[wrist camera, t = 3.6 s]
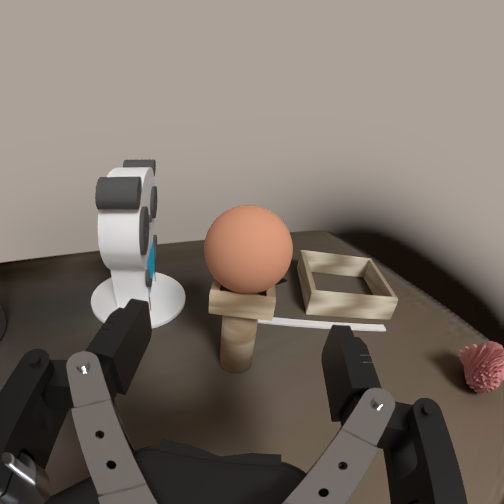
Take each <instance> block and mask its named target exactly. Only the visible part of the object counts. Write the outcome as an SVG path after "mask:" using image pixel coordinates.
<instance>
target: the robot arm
mask: <svg viewBox="0 0 504 504" xmlns="http://www.w3.org/2000/svg"><path fill="white" fill-rule="evenodd" d="M5 328H6V318H5V315H4V312H3V310H2V307H1V304H0V339H1V338H2V336H3V334H4V332H5ZM151 333H152V327H151V319H150V310H149V303H148V301H143V300H138V299H133V298H132V299H130V300H129V302H128V303H127V305H126V306H125V308H120V307H119V308H118V309H116V310H115V311H113V312H112V313H111V314H110V315H109V316H108V318H107V319H106V321H105V323H104V324H103V325H102V327H101V329H100V330H99V331H98V333H97V334H96V336H95V337H94V339H93V340H92V342H91V343H90V345H89V346H88V348H87V349H86V351H82V352H78V353H75V354H74V355H72V356H71V357H70V358H69V359H68V360H51V359H50V357H49V355H48V353H47V352H46V351H44V350H41V349H34V350H31V351H29V352H27V353H26V354H25V355H24V356H23V358H22V359H21V361H20V362H19V364H18V365H17V367H16V368H15V370H14V371H13V373H12V374H11V376H10V378H9V379H8V381H7V382H6V384H5V386H4V387H3V389H2V391H1V392H0V502H1V503H2V504H345V503H346V501H347V500H348V498H349V497H350V495H351V494H352V492H353V491H354V489H355V488H356V486H357V484H358V483H359V481H360V480H361V478H362V476H363V475H364V473H365V471H366V470H367V468H368V466H369V464H370V463H371V461H372V459H373V457H374V456H375V454H376V452H377V449H378V448H381V449H383V451H384V457H385V463H386V470H387V477H388V484H389V492H390V500H391V504H467V499H466V494H465V489H464V485H463V481H462V477H461V473H460V469H459V465H458V462H457V458H456V455H455V451H454V448H453V445H452V441H451V438H450V435H449V432H448V429H447V426H446V423H445V420H444V417H443V414H442V412H441V409H440V407H439V405H438V404H437V403H436V402H435V401H433V400H431V399H429V398H420V399H418V400H417V401H416V402H415V403H414V404H413V405H409V404H404V403H399V402H396V401H395V400H394V398H393V396H392V395H391V394H390V393H389V392H388V391H386V390H384V389H382V388H381V385H380V382H379V379H378V376H377V374H376V371H375V368H374V365H373V363H372V359H371V357H370V356H369V351H368V348H367V346H366V344H365V343H364V342H363V341H362V340H361V339H360V338H359V337H354V335H353V332H352V330H351V327H350V326H349V325H332V327H331V329H330V332H329V334H328V337H327V340H326V343H325V345H324V348H323V351H322V367H323V372H324V378H325V383H326V389H327V395H328V401H329V407H330V413H331V419H332V422H338V421H341V426H342V427H341V428H340V430H339V431H338V433H337V434H336V435H335V437H334V438H333V440H332V441H331V442H330V444H329V445H328V447H327V448H326V449H325V451H324V452H323V453H322V455H321V456H320V457H319V458H318V460H317V461H316V462H315V463H314V465H313V466H312V467H311V468H310V469H309V471H308V472H307V473H305V472H304V471H302V470H301V469H299V468H297V467H295V466H293V465H291V464H288V463H285V462H281V455H277V454H257V453H249V454H241V455H232V456H217V455H214V454H212V453H209V452H206V451H204V450H201V449H199V448H196V447H194V446H191V445H187V444H182V443H177V442H172V441H167V440H163V439H162V442H161V445H160V446H151V447H145V448H141V449H138V450H136V451H135V449H134V446H133V444H132V442H131V440H130V438H129V436H128V434H127V431H126V429H125V427H124V424H123V422H122V419H121V417H120V414H119V411H118V409H117V406H116V403H115V401H114V398H115V396H116V394H117V393H119V394H123V395H126V393H127V390H128V388H129V386H130V384H131V381H132V379H133V377H134V374H135V372H136V370H137V368H138V365H139V363H140V361H141V359H142V357H143V354H144V352H145V350H146V348H147V346H148V344H149V341H150V338H151ZM69 409H71V410H72V416H73V420H74V424H75V428H76V431H77V435H78V438H79V442H80V445H81V448H82V452H83V455H84V458H85V461H86V464H87V466H88V469H89V472H90V475H91V476H90V477H88V478H86V479H84V480H83V481H81V482H79V483H77V484H75V485H73V486H71V487H69V488H67V489H65V490H63V491H61V492H59V493H57V494H55V495H53V496H51V497H50V495H49V490H50V486H49V478H48V475H47V473H46V472H45V471H44V470H45V468H46V465H47V462H48V459H49V457H50V454H51V451H52V449H53V446H54V443H55V441H56V438H57V436H58V433H59V431H60V429H61V426H62V424H63V421H64V419H65V417H66V414H67V412H68V410H69Z"/></svg>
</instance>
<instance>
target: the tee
mask: <svg viewBox="0 0 504 504" xmlns="http://www.w3.org/2000/svg"><path fill="white" fill-rule="evenodd" d="M275 303H276V297H275V285H274V286H273V287H271V288H269V289H267V290H265V291H262V292H259V293H252V294H245V293H238V292H235V291H232V290H230V289H228V288H226V287H224V286H223V285H221V284H220V283H219V282H218V281H217V280H216V279H215V278H214V281H213V284H212V287H211V290H210V294H209V313H211V314H218V315H223V318H222V333H221V349H220V365H221V366H222V368H223V369H225V370H226V371H228V372H231V373H242V372H245V371H246V370H248V369H249V368H250V365H251V360H252V354H253V348H254V342H255V336H256V330H257V324H258V319H260V320H269V321H272V319H273V314H274V309H275Z"/></svg>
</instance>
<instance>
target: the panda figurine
mask: <svg viewBox="0 0 504 504" xmlns="http://www.w3.org/2000/svg"><path fill="white" fill-rule="evenodd" d="M154 176H155V160H125V161H124V163H123V168H114V169H113V170H111V172H110V173H109V174H108V175H107V177H100V178H99V179H98V182H97V186H96V197H95V198H96V206H97V209H98V210H99V213H98V241H99V249H100V254H101V257H102V260H103V262H104V264H105V266H106V267H107V268H109V269H110V271H111V276H112V277H111V278H109V279H107V280H106V281H104V282H103V283H101V284H100V285H99V286H98V287H97V288H96V289H95V291H94V293H93V295H92V298H91V306H92V310H93V312H94V314H95V316H96V317H97V318H98V319H99V320H100V321H101V322H103V323H105V321H106V319H107V318H108V316H109V315H110V314H111V313H112V312H113V311H115V310H116V309H118V308H119V307H120V308H125V306H126V305H127V303H128V302H129V300H130V299H132V298H133V299H138V300H143V301H148V303H149V310H150V319H151V327H152V328H155V327H158V326H161V325H163V324H166V323H167V322H169V321H171V320H172V319H174V318H175V317H176V316H177V315H178V314H179V313H180V312H181V311H182V309H183V307H184V305H185V291H184V289H183V287H182V286H181V285H180V284H179V283H178V282H177V281H176V280H174V279H173V278H171V277H169V276H166V275H164V274H160V273H156V272H155V264H154V260H156V256H157V236H156V235H153V232H154V231H153V230H154V218H155V217H156V211H157V187H156V186H154Z"/></svg>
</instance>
